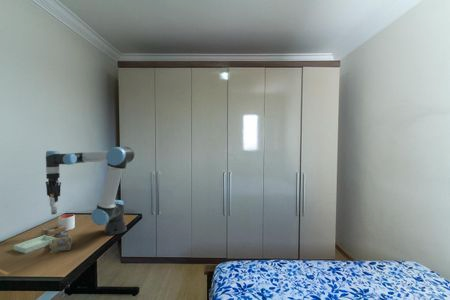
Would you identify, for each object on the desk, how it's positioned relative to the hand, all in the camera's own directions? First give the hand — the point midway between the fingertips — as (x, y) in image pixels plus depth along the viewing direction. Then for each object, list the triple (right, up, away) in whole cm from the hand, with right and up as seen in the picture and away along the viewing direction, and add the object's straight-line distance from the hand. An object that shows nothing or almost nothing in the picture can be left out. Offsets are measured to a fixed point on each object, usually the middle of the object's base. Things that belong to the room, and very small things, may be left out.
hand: (53, 205), depth 166 cm
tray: (+1, -21, -17) cm, 27 cm away
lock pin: (0, -6, 0) cm, 6 cm away
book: (+18, -22, -17) cm, 33 cm away
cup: (+1, -21, +12) cm, 24 cm away
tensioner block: (+3, -21, -1) cm, 21 cm away
